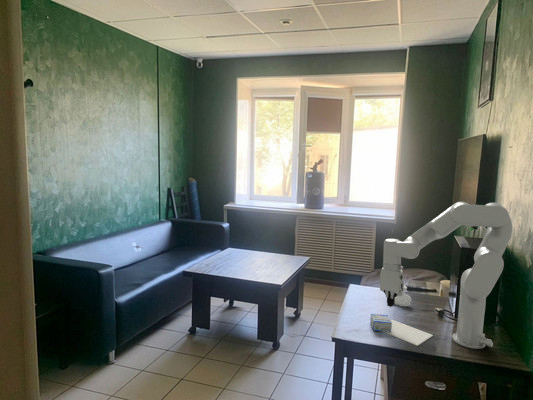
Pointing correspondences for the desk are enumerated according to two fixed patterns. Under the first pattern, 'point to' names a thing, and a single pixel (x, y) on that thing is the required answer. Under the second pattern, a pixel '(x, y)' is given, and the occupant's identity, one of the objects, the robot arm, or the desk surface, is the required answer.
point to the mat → (408, 333)
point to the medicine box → (381, 323)
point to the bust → (403, 299)
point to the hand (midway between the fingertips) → (390, 305)
